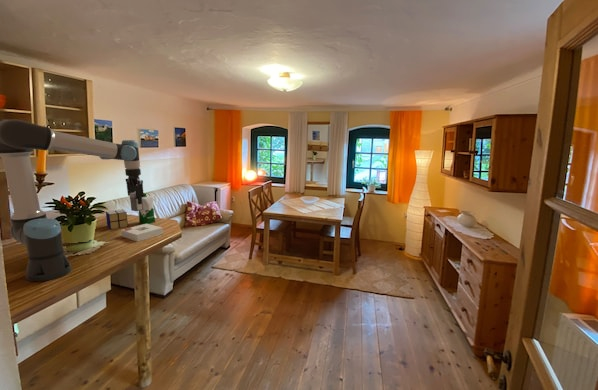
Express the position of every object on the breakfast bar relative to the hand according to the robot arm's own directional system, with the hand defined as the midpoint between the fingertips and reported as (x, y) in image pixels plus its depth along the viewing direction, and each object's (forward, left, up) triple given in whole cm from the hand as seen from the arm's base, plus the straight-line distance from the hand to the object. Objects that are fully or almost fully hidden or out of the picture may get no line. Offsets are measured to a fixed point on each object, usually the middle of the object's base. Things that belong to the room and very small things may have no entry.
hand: (137, 208), depth 173 cm
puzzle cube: (+5, +33, -18) cm, 38 cm away
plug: (0, 0, -1) cm, 1 cm away
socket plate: (+4, +3, -18) cm, 18 cm away
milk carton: (+21, +25, -18) cm, 37 cm away
